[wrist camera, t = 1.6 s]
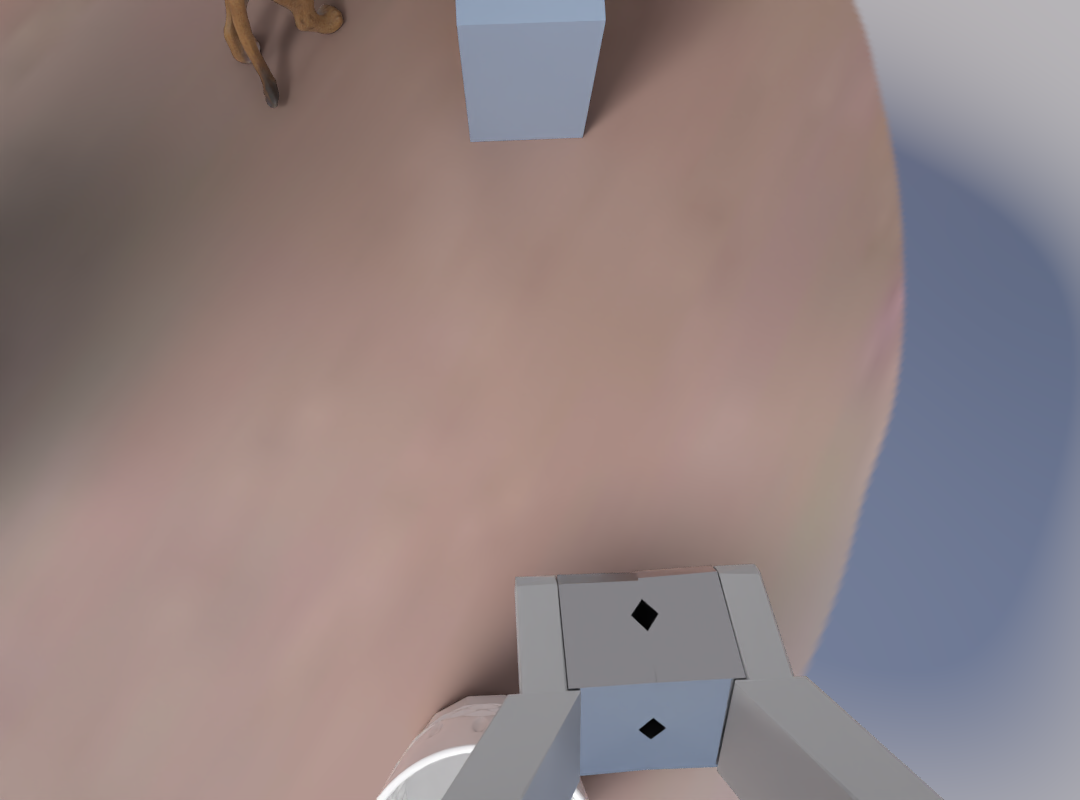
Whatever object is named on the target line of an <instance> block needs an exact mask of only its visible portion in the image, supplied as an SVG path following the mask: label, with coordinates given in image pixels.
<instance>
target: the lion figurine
mask: <svg viewBox="0 0 1080 800" xmlns="http://www.w3.org/2000/svg"><path fill="white" fill-rule="evenodd" d="M248 1H249V0H225V6H226V14H227V15H226V23H225V27H224V37H225V40H226V42H227V44H228V45H229V47H230V50H231V53H232V55H233V56H234V58H235V59H236V60H237V61H239V62H241V63H251V62H252V63H253V65H254V67H255V69H256V71H257V72H258V74H259V76H260V78H261V81H262V84H263V88H264V90H263V91H264V95H265V97H266V102H267V104H268V105H269V106H270V107H271V108H276V107H277V102H278V98H279V93H278V88H277V84H276V80H275V79H274V77H273V75H272V74H271V72H270V70H269V68H268V66H267V64H266V62H265V61H264V59H263V57H262V55H261V53H260V45H259V42H258V41H257V40H256V39H255V37H254V36H253V34H252V31H251V27H250V23H249V20H248V16H247V11H246V8H247V4H248ZM272 1H274V2H276V3H277V4H279V5H281V6H283V7H285V8H287V9H289V10H290V11H291V12H292V13H293V15H294V18H295V24H296V27H297V28H298V29H299V30H301V31H311V32H318V33H323V34H329V33H333V32H335V31H336V30H338V29H339V28H340V27H341V25H342V23H343V18H342V14H341V12H340V11H339V10H338V9H336V8H335V7H333V6H330V5H326V4H324V5H322V6H321V7H320V8H319V9H318V10H317V12H316V11H315V9H314V0H272Z"/></svg>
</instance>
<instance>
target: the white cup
mask: <svg viewBox="0 0 1080 800" xmlns="http://www.w3.org/2000/svg"><path fill="white" fill-rule="evenodd" d="M505 698H506V695H484V696H467V697H465V698H464V699H462V700H460V701H458V702H456V703H454V704H452V705H451V706H449V707H447V708H445V709H443V710H441V711H439V712H438V713H436V714H435V715H434V716H433V717H432V719H431V720H430V722H429V723H428V724H427V726H426V727H425V728H424V730H423V731H422V732H421V733H420V734H419V735H418V736H417V737H416V738H415V739H414V740H413V741H412V743H411V744H410V746H409V747H408V749H407V750H406V751H405V753H404V754H403V756H402V757H401V759H400V760H399V761H398V763H397V764H396V766H395V767H394V769H393V771H392V772H391V774H390V776H389V777H388V779H387V781H386V782H385V784H384V786H383V788H382V789H381V791H380V793H379V795H378V796H377V798H376V800H441V799H442V798H443V796H444V795H445V793H446V792H447V790H448V788H449V787H450V785H451V784H452V782H453V780H454V779H455V777H456V776H457V774H458V773H459V771H460V769H461V768H462V766H463V765H464V763H465V761H466V760H467V758H468V757H469V755H470V754H471V752H472V750H473V749H474V747H475V746H476V744H477V742H478V741H479V739H480V738H481V736H482V734H483V733H484V731H485V730H486V728H487V727H488V725H489V723H490V722H491V720H492V719H493V717H494V715H495V714H496V712H497V711H498V709H499V708H500V706H501V704H502V703H503V701H504V700H505ZM571 800H589V798H588V796H587V793H586V790H585V788H584V785H583V783H582V780H581V778H580V781H579V783H578V785H577V788H576V790H575V792H574V794H573V796H572V798H571Z"/></svg>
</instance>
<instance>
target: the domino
mask: <svg viewBox="0 0 1080 800" xmlns="http://www.w3.org/2000/svg"><path fill="white" fill-rule="evenodd" d="M456 19H457V31H458V40H459V48H460V57H461V65H462V74H463V82H464V90H465V99H466V107H467V116H468V124H469V132H470V141H471V142H481V141H506V140H531V139H556V138H582V137H583V133H584V128H585V123H586V118H587V113H588V108H589V103H590V98H591V93H592V88H593V83H594V77H595V72H596V67H597V62H598V57H599V52H600V47H601V42H602V37H603V32H604V27H605V22H606V17H605V1H604V0H456Z"/></svg>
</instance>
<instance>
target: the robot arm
mask: <svg viewBox="0 0 1080 800" xmlns="http://www.w3.org/2000/svg"><path fill="white" fill-rule="evenodd" d="M515 606H516V628H517V649H518V671H519V692H520V694H510V695H507V696H506V698H505V700H504V701H503V703H502V704H501V706H500V708H499V709H498V711H497V712H496V714H495V715H494V717H493V719H492V720H491V722H490V723H489V725H488V727H487V728H486V730H485V731H484V733H483V734H482V736H481V738H480V739H479V741H478V742H477V744H476V746H475V747H474V749H473V750H472V752H471V754H470V755H469V757H468V758H467V760H466V761H465V763H464V765H463V766H462V768H461V769H460V771H459V773H458V774H457V776H456V777H455V779H454V780H453V782H452V784H451V785H450V787H449V788H448V790H447V792H446V793H445V795H444V796H443V798H442V799H441V800H571V798H572V796H573V794H574V792H575V790H576V788H577V785H578V783H579V781H580V776H584V775H595V774H606V773H617V772H627V771H638V770H652V769H678V768H704V767H717V772H718V773H719V774H720V775H721V777H722V778H723V779H724V780H725V781H726V783H727V784H728V785H729V786H730V788H731V789H732V790H733V791H734V793H735V794H736V795H737V796H738V798H739V799H740V800H944V799H943V798H942V797H940V796H939V795H938V794H937V793H936V792H935V791H934V790H933V789H931V788H930V787H929V786H928V785H927V784H926V783H925V782H924V781H923V780H921V779H920V778H919V777H918V776H917V775H916V774H915V773H913V772H912V771H911V770H910V769H909V768H908V767H907V766H906V765H905V764H903V763H902V762H901V761H900V760H899V759H898V758H897V757H896V756H895V755H894V754H892V753H891V752H890V751H889V750H888V749H887V748H886V747H884V745H882V744H881V743H880V742H879V741H878V740H877V739H876V738H875V737H874V736H872V735H871V734H870V733H869V732H868V731H867V730H866V729H865V728H863V727H862V726H861V725H860V724H859V723H858V722H857V721H856V720H854V719H853V718H852V717H851V716H850V715H849V714H848V713H847V712H846V711H845V710H843V709H842V708H841V707H840V706H839V705H838V704H837V703H836V702H834V701H833V700H832V699H831V698H830V697H829V696H828V695H827V694H825V693H824V692H823V691H822V690H821V689H820V688H819V687H818V686H817V685H815V684H814V683H813V682H812V681H811V680H810V679H809V678H808V677H807V676H794V675H793V672H792V668H791V665H790V662H789V659H788V656H787V653H786V650H785V647H784V644H783V641H782V638H781V635H780V632H779V629H778V626H777V622H776V619H775V616H774V613H773V610H772V607H771V604H770V601H769V598H768V595H767V592H766V589H765V586H764V583H763V579H762V576H761V573H760V570H759V569H758V568H757V567H756V566H755V565H754V564H742V565H725V566H714V567H712V566H697V567H683V568H669V569H655V570H641V571H634V572H633V573H601V574H570V575H557V576H555V575H548V576H526V577H516V579H515Z"/></svg>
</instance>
